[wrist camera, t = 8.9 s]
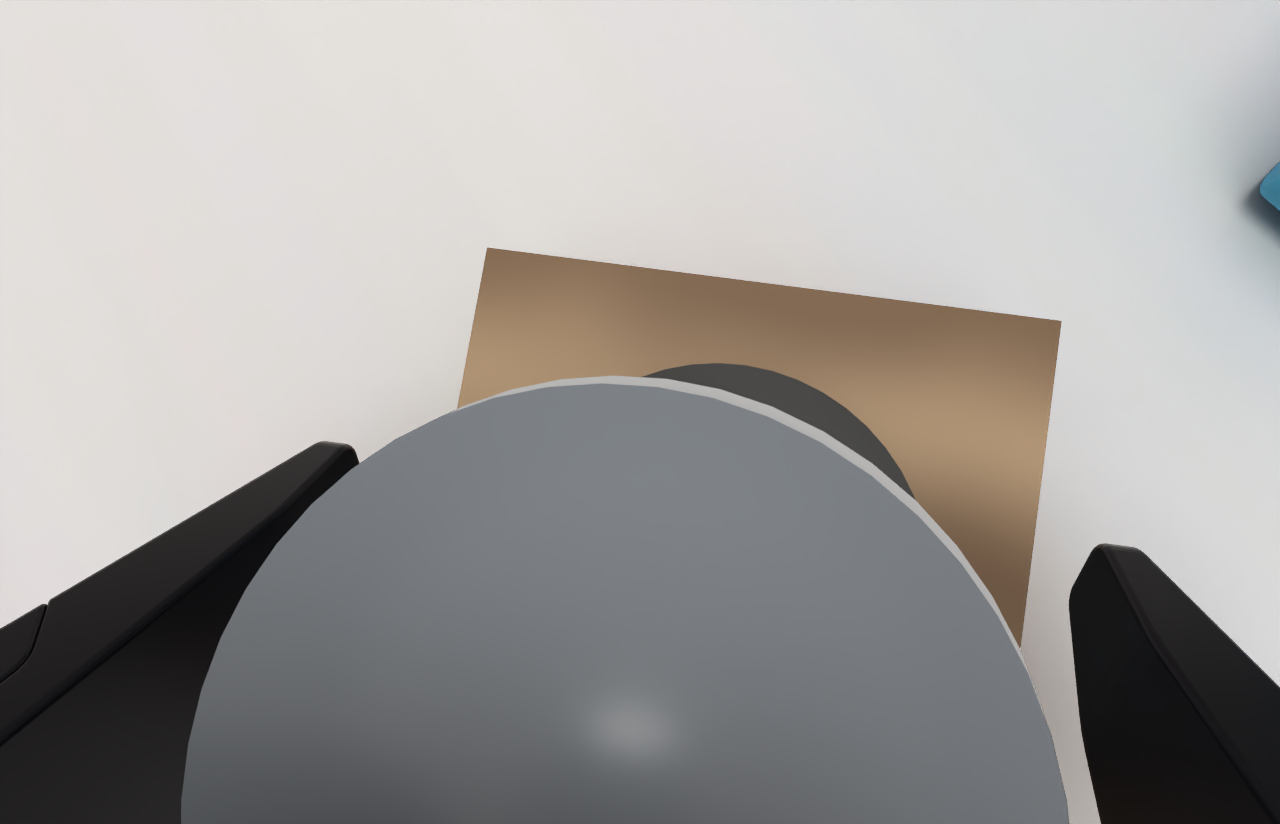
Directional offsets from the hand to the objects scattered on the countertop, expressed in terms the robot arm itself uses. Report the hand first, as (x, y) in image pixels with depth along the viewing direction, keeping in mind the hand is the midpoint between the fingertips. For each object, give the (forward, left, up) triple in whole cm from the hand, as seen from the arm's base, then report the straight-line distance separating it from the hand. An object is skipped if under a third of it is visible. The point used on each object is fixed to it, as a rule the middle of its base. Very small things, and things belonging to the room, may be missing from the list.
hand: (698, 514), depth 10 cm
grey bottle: (-1, 0, -7) cm, 8 cm away
